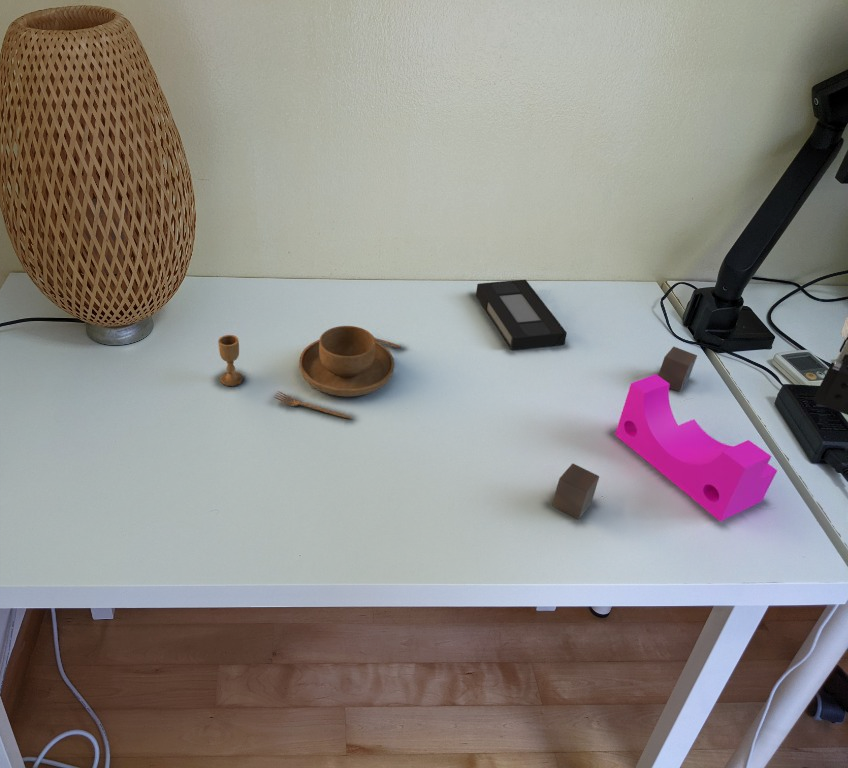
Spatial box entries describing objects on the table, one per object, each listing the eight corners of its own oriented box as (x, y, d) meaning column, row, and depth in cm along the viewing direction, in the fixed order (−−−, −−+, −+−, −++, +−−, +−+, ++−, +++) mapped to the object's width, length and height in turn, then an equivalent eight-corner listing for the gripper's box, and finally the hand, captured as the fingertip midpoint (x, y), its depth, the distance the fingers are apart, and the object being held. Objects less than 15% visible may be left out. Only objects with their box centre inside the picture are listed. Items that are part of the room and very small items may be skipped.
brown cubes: (688, 381, 98) (697, 355, 95) (578, 520, 79) (586, 492, 76) (664, 371, 99) (673, 346, 97) (551, 505, 80) (559, 478, 78)
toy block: (761, 501, 81) (788, 448, 77) (720, 521, 79) (745, 468, 74) (654, 419, 92) (672, 368, 87) (614, 434, 89) (631, 383, 85)
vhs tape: (511, 350, 102) (513, 338, 101) (475, 295, 114) (476, 283, 112) (564, 345, 104) (567, 332, 102) (523, 291, 115) (525, 279, 114)
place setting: (366, 427, 90) (368, 386, 86) (213, 385, 95) (210, 346, 92) (411, 347, 103) (415, 309, 99) (275, 315, 108) (273, 278, 105)
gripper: (981, 264, 53) (871, 448, 64) (1006, 187, 64) (908, 355, 74) (860, 231, 57) (775, 410, 67) (903, 163, 68) (824, 327, 78)
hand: (845, 381), depth 71 cm, fingers open, 9 cm apart
